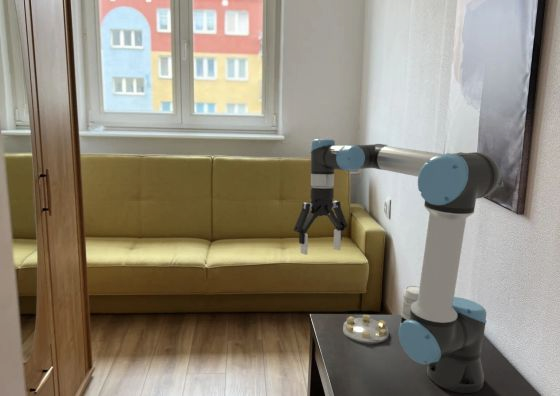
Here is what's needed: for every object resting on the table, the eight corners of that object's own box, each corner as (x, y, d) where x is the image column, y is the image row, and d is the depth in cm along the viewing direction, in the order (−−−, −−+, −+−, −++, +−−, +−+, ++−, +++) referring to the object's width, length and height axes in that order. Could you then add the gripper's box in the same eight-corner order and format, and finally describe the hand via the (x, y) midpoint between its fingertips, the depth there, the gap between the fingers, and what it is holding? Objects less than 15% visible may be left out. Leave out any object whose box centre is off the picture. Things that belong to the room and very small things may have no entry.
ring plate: (396, 332, 163) (397, 324, 162) (374, 349, 151) (375, 340, 151) (358, 317, 172) (358, 309, 171) (334, 332, 161) (334, 323, 160)
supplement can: (398, 324, 168) (402, 284, 165) (422, 327, 167) (427, 286, 164) (400, 335, 161) (405, 293, 157) (426, 338, 159) (431, 296, 156)
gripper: (344, 185, 167) (342, 245, 169) (283, 187, 154) (282, 253, 156) (359, 186, 161) (357, 249, 163) (297, 189, 147) (296, 257, 149)
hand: (320, 251), depth 159 cm, fingers open, 13 cm apart
